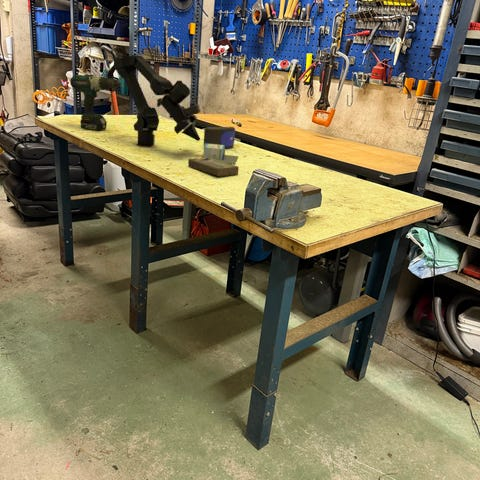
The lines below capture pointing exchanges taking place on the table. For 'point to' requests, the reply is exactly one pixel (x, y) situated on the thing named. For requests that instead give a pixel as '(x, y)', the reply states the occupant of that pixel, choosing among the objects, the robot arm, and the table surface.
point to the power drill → (92, 98)
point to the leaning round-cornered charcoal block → (220, 136)
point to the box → (213, 166)
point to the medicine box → (214, 151)
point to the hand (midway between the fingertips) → (199, 140)
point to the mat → (229, 159)
